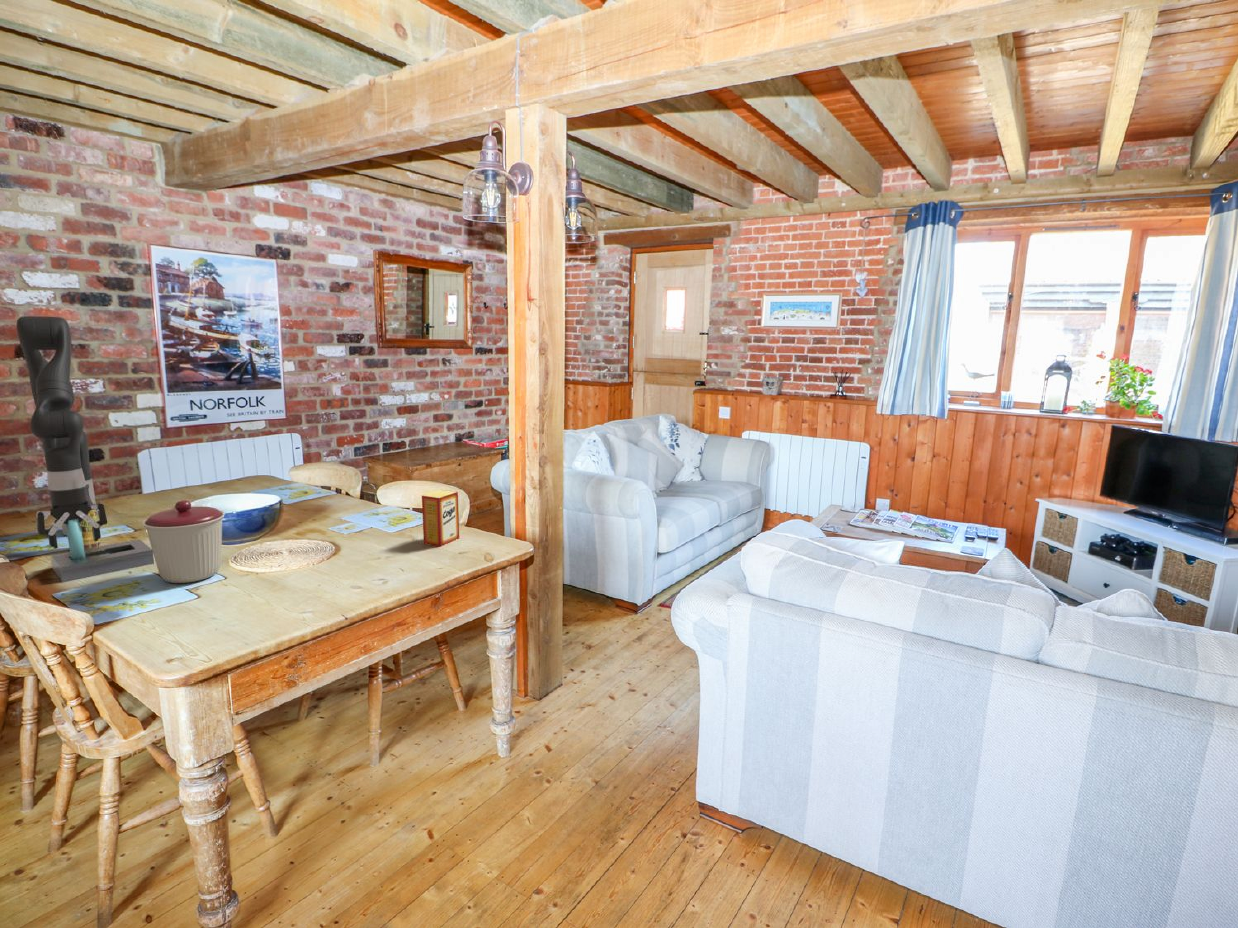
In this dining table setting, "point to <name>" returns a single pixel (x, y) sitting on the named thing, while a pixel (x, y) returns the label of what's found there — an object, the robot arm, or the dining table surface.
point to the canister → (186, 542)
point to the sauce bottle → (89, 526)
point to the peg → (75, 539)
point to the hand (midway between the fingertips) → (76, 544)
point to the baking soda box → (440, 517)
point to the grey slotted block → (102, 560)
